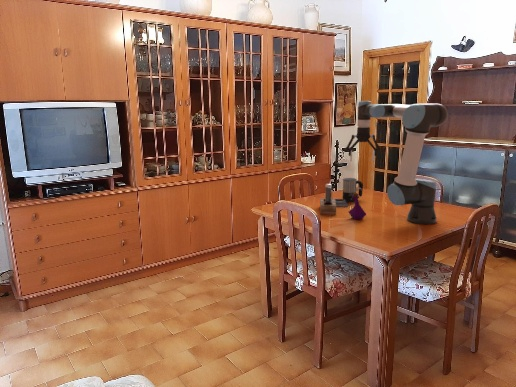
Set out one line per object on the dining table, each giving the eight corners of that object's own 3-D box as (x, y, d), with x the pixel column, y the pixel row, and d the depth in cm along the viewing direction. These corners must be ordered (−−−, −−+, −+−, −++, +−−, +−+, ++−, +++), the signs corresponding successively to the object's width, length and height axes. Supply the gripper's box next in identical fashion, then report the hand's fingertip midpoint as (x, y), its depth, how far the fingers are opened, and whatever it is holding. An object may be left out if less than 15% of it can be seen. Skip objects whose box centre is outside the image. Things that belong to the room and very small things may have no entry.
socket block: (347, 206, 255) (348, 202, 254) (331, 206, 256) (331, 201, 256) (346, 202, 265) (346, 198, 264) (331, 202, 266) (331, 198, 265)
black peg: (331, 210, 240) (331, 188, 237) (325, 210, 241) (325, 188, 238) (330, 209, 244) (331, 186, 241) (324, 209, 244) (325, 186, 241)
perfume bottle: (354, 220, 225) (355, 189, 221) (348, 217, 232) (349, 186, 228) (366, 219, 227) (367, 188, 223) (359, 216, 234) (360, 186, 230)
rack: (335, 214, 238) (336, 205, 236) (320, 214, 239) (320, 205, 238) (334, 206, 255) (334, 198, 254) (319, 206, 256) (320, 198, 255)
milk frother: (347, 202, 265) (348, 180, 262) (333, 198, 279) (333, 176, 276) (364, 200, 271) (365, 178, 268) (349, 195, 285) (350, 175, 282)
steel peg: (330, 207, 249) (331, 184, 246) (324, 206, 249) (325, 184, 247) (330, 205, 252) (331, 183, 250) (324, 205, 253) (325, 183, 250)
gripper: (383, 126, 248) (381, 160, 252) (342, 126, 251) (341, 160, 256) (385, 127, 240) (383, 162, 245) (343, 127, 244) (342, 162, 248)
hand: (362, 161), depth 250 cm, fingers open, 13 cm apart
